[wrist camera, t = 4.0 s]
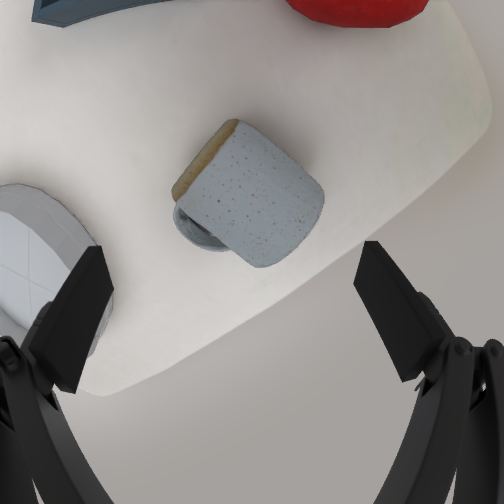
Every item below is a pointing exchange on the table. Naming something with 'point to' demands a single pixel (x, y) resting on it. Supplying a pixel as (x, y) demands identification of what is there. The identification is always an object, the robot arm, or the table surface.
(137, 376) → the table surface
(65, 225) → the dish
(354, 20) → the apple
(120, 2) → the tub
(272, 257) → the ceramic mug
